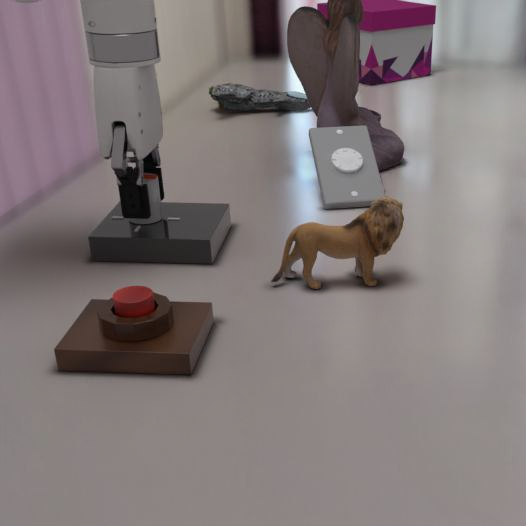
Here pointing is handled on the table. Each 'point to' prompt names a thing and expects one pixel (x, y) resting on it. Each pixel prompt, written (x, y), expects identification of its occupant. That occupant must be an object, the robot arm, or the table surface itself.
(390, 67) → the decorative box
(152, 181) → the knob
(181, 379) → the table surface
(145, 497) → the table surface
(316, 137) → the light switch
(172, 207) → the dark grey dial base
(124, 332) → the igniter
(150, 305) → the button
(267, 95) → the jagged slate chunk
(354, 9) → the figurine
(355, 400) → the table surface
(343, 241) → the lion figurine
